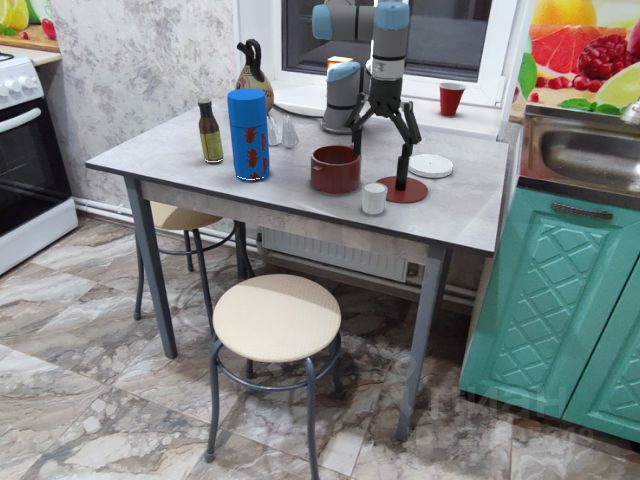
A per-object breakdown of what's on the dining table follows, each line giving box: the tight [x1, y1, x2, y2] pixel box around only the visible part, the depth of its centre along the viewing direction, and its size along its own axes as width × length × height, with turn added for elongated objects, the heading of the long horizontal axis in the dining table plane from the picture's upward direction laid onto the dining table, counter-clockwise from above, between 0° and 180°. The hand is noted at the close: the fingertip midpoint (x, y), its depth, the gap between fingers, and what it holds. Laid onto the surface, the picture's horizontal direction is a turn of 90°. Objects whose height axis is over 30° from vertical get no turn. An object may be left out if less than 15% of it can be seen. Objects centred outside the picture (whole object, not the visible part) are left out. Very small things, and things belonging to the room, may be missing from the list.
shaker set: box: [267, 115, 301, 149], centre depth 163 cm, size 12×4×11 cm, turn 67°
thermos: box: [226, 89, 271, 184], centre depth 140 cm, size 11×11×25 cm
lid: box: [375, 155, 429, 204], centre depth 135 cm, size 16×16×11 cm
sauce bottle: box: [197, 98, 224, 165], centre depth 149 cm, size 6×6×20 cm
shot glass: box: [361, 181, 388, 215], centre depth 127 cm, size 7×7×7 cm
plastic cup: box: [438, 82, 467, 118], centre depth 190 cm, size 11×11×12 cm
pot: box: [310, 144, 363, 195], centre depth 140 cm, size 15×20×10 cm
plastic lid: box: [408, 153, 454, 179], centre depth 149 cm, size 14×14×2 cm
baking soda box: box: [326, 56, 355, 72], centre depth 208 cm, size 10×6×16 cm
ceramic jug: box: [234, 38, 275, 118], centre depth 181 cm, size 17×15×30 cm
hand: (379, 161), depth 122 cm, fingers open, 13 cm apart
